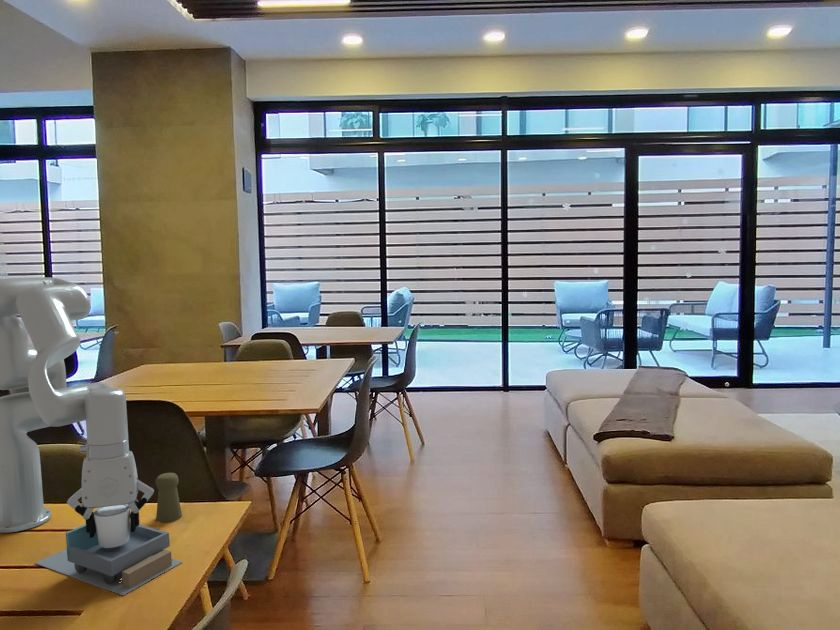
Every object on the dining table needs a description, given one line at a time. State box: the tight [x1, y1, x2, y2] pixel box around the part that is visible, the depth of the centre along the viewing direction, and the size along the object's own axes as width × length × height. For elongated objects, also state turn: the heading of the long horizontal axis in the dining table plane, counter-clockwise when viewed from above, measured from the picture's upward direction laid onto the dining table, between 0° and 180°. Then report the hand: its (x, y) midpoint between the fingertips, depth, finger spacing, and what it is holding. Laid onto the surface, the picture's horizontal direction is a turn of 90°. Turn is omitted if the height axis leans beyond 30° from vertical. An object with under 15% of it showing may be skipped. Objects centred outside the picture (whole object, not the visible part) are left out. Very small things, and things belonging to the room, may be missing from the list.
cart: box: [65, 523, 171, 584], centre depth 127 cm, size 14×14×8 cm
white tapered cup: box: [93, 504, 131, 548], centre depth 127 cm, size 7×7×7 cm
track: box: [34, 548, 183, 597], centre depth 129 cm, size 28×14×3 cm, turn 63°
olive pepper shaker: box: [155, 472, 183, 524], centre depth 151 cm, size 6×6×11 cm
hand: (113, 531), depth 128 cm, fingers open, 7 cm apart
